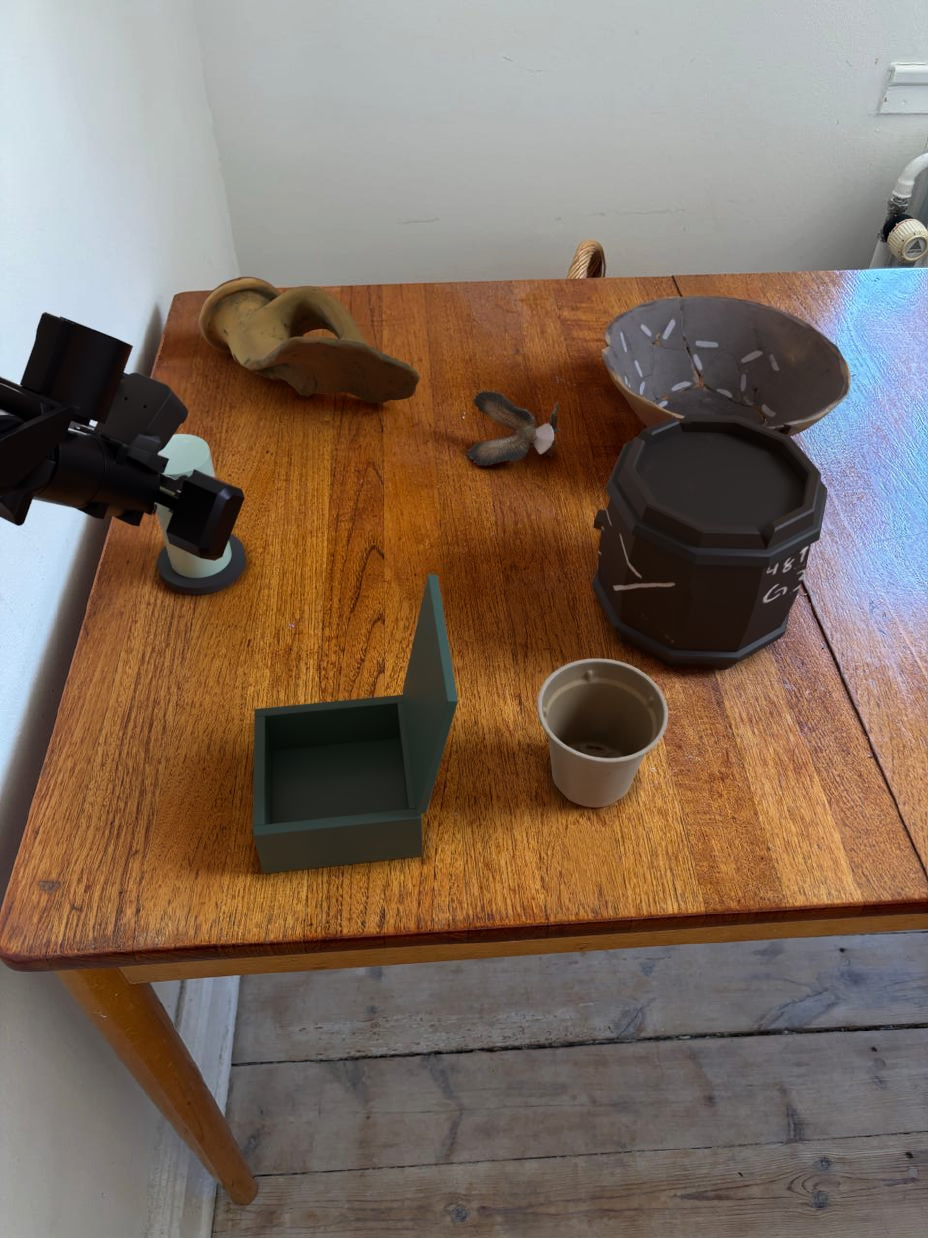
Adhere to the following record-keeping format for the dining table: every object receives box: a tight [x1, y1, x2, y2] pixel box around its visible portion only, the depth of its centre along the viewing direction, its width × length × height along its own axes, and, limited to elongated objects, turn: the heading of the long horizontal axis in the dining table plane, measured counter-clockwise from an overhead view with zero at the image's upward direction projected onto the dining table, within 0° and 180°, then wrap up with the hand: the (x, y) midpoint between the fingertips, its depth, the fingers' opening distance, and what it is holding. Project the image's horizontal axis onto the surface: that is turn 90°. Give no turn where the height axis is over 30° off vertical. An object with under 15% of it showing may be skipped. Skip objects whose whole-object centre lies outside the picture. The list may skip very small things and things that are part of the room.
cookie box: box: [252, 694, 424, 875], centre depth 75 cm, size 12×11×5 cm
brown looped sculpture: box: [198, 276, 421, 404], centre depth 110 cm, size 18×13×22 cm
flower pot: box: [536, 658, 669, 808], centre depth 76 cm, size 9×9×9 cm
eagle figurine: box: [467, 390, 562, 467], centre depth 105 cm, size 8×7×9 cm
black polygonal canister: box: [591, 414, 828, 671], centre depth 86 cm, size 18×18×16 cm
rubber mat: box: [157, 533, 247, 596], centre depth 94 cm, size 8×8×1 cm
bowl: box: [601, 295, 852, 438], centre depth 106 cm, size 25×25×10 cm
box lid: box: [401, 573, 459, 815], centre depth 69 cm, size 12×11×1 cm
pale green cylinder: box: [154, 433, 232, 578], centre depth 90 cm, size 6×6×12 cm
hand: (199, 501), depth 91 cm, fingers closed on pale green cylinder, 5 cm apart
